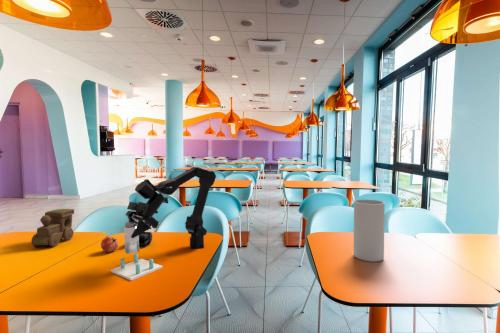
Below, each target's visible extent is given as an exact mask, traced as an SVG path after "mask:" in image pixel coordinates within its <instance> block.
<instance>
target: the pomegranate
mask: <svg viewBox="0 0 500 333" xmlns="http://www.w3.org/2000/svg"><path fill="white" fill-rule="evenodd" d="M118 247H119V242H118V240H117V239H116V238H115V237H110V236H107V237H105V238H103V239H102V240H101V243H100V248H101V249H102V251H103V252H105V253H112V252H114V251H116V250H117V249H118Z"/></svg>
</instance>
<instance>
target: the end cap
mask: <svg viewBox="0 0 500 333" xmlns="http://www.w3.org/2000/svg"><path fill="white" fill-rule="evenodd" d="M152 242H153V233H152V232H151V231H145V232H143V233H141V234H140V235H139V248H143V249H144V248H147V247H148V246H150V245H151V243H152Z"/></svg>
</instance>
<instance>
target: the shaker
mask: <svg viewBox="0 0 500 333" xmlns="http://www.w3.org/2000/svg"><path fill="white" fill-rule="evenodd" d="M137 226H138V225H137V222H136V221H131V222H129V221H126V222H125V223H124V227H123V229H124V230H123V231H124V232H123V233H124V253H125V254H127V255H128V254H137V253H138V252H140V247H139V235H138V236H136V237H135V238H131V236H132V234H133V232H134V231H135V229H136V227H137Z"/></svg>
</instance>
